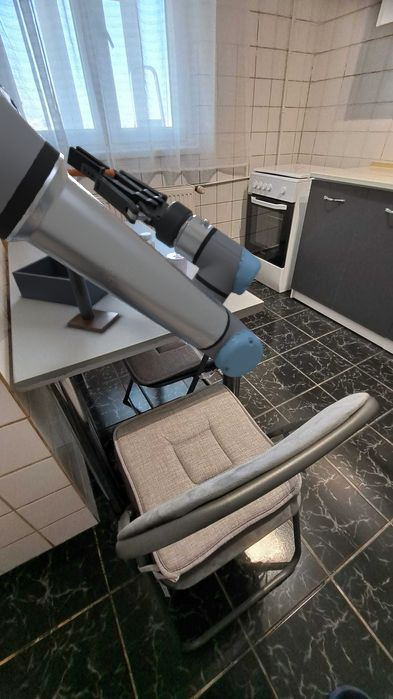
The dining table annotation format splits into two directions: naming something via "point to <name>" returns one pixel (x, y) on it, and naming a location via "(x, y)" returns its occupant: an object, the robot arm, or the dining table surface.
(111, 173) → the orange rod
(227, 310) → the robot arm
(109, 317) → the stand
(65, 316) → the dining table surface
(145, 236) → the supplement bottle
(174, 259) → the smoothie
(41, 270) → the bin
